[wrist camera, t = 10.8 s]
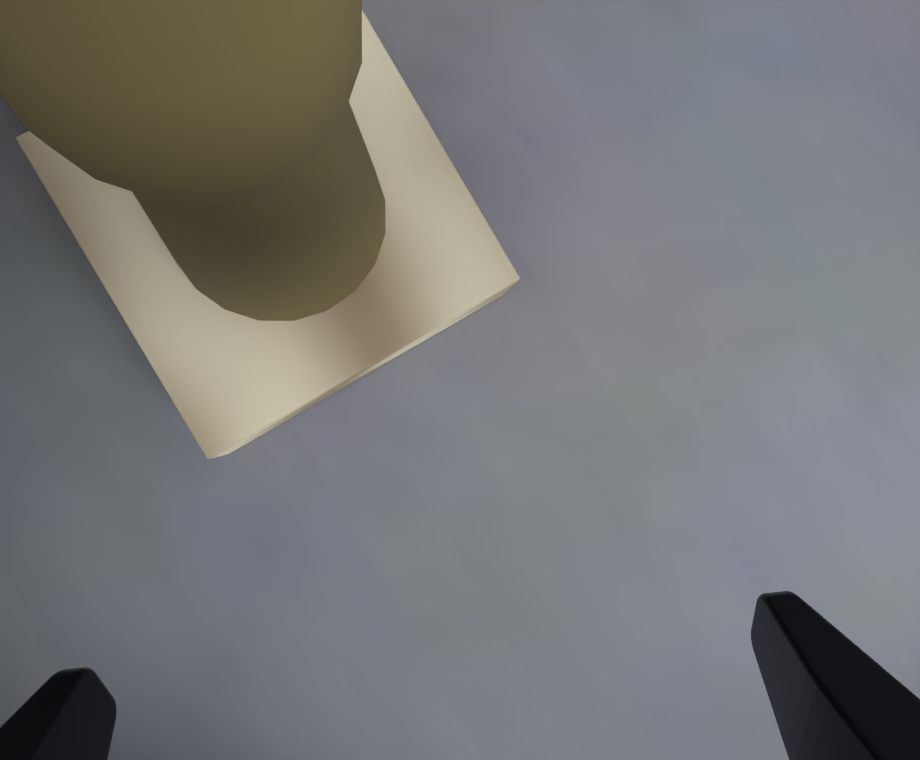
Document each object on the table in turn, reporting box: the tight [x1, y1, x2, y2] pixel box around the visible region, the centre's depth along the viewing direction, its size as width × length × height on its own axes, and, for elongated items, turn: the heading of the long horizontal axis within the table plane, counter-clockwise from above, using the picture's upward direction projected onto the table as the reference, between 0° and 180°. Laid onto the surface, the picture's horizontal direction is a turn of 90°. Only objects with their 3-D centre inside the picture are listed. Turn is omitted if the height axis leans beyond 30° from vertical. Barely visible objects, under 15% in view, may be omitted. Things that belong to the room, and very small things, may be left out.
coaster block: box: [15, 11, 520, 459], centre depth 20 cm, size 10×10×2 cm
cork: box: [0, 0, 385, 321], centre depth 13 cm, size 6×6×11 cm
